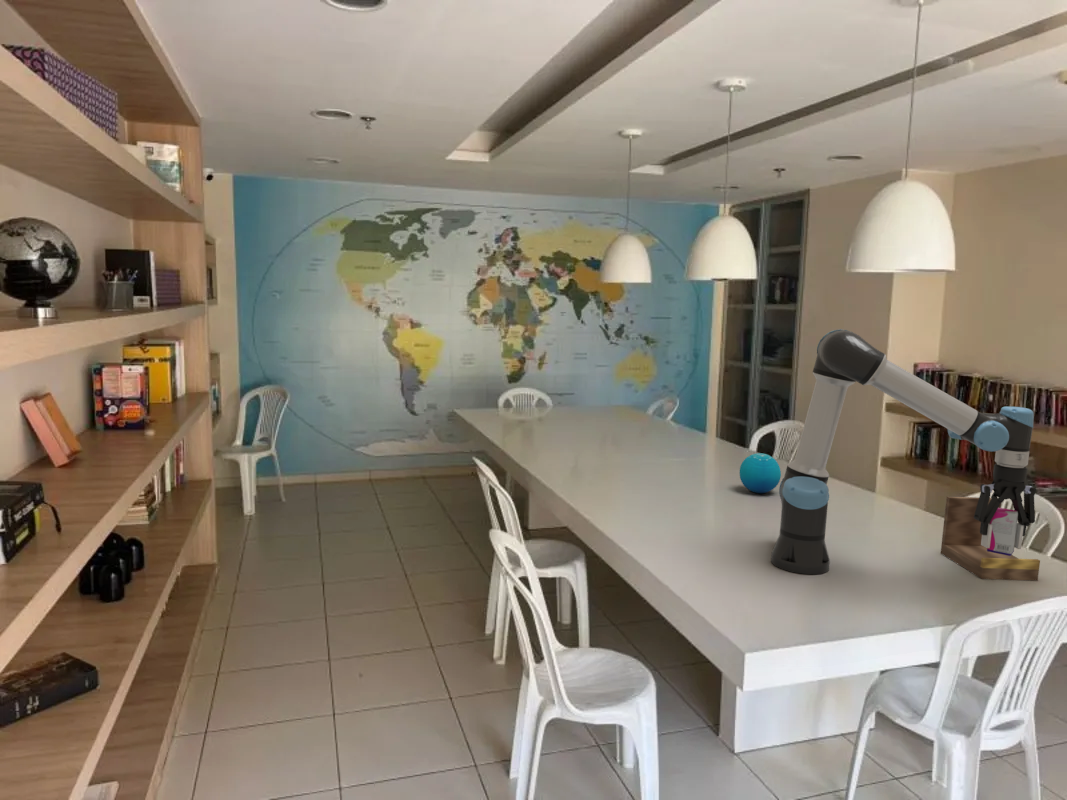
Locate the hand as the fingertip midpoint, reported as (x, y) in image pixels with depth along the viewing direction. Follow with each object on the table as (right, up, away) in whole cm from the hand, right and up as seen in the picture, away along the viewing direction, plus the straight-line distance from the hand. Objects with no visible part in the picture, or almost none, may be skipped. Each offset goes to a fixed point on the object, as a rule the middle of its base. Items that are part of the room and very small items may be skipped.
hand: (1000, 546), depth 202 cm
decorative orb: (-42, +5, +79) cm, 90 cm away
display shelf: (0, -7, +6) cm, 9 cm away
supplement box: (0, -1, 0) cm, 1 cm away
